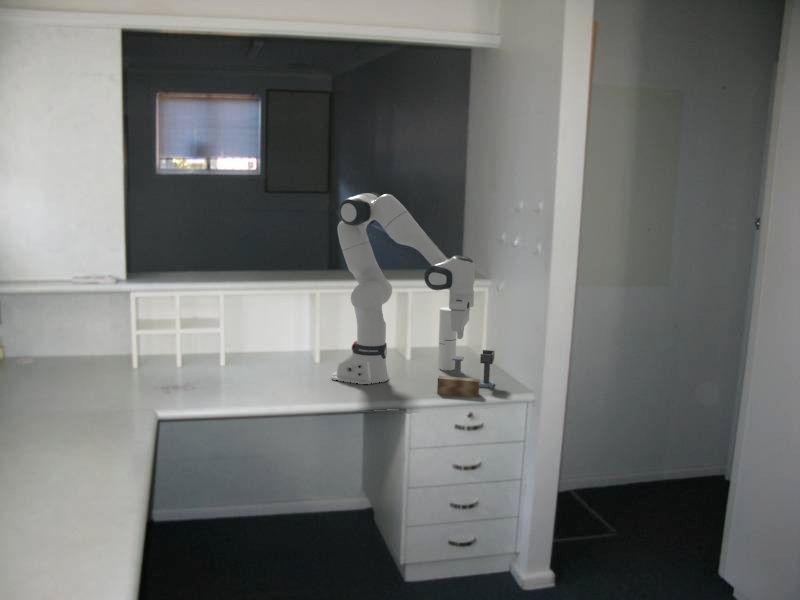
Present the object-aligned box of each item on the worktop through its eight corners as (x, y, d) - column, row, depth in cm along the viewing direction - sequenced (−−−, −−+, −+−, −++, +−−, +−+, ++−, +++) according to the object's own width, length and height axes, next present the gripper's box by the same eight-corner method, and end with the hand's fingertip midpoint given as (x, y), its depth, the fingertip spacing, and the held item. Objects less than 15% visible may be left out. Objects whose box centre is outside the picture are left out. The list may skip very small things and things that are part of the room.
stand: (445, 384, 307) (446, 351, 304) (448, 379, 313) (449, 347, 311) (492, 388, 303) (493, 355, 300) (494, 383, 309) (495, 350, 307)
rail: (437, 394, 295) (437, 378, 294) (438, 391, 298) (439, 375, 297) (477, 397, 292) (478, 381, 291) (478, 394, 295) (479, 379, 294)
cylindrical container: (454, 371, 326) (456, 310, 321) (436, 369, 327) (438, 309, 322) (456, 366, 333) (458, 307, 328) (439, 365, 334) (441, 306, 329)
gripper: (457, 295, 299) (455, 331, 302) (448, 305, 280) (446, 343, 282) (474, 296, 298) (472, 332, 301) (466, 306, 278) (464, 345, 281)
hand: (460, 338), depth 291 cm, fingers closed
